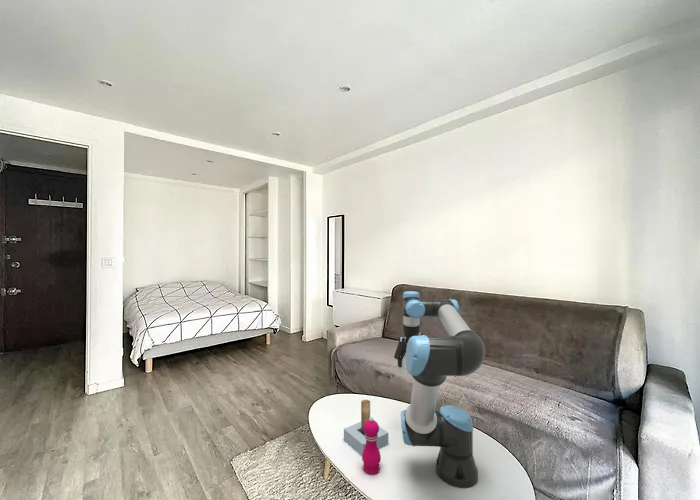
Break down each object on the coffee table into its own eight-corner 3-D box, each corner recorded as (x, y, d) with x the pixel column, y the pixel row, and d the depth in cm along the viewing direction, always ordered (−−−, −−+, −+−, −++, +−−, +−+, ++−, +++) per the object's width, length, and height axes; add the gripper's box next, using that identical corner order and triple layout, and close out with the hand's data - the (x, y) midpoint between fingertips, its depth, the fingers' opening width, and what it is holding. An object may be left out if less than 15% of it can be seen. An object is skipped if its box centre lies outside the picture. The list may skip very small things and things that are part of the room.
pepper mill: (365, 477, 114) (365, 423, 114) (359, 464, 121) (359, 413, 121) (383, 473, 116) (383, 420, 116) (376, 461, 123) (376, 411, 123)
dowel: (372, 440, 134) (372, 402, 135) (365, 443, 132) (365, 405, 132) (366, 435, 138) (366, 398, 138) (359, 438, 135) (359, 401, 136)
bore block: (388, 444, 133) (388, 432, 133) (363, 456, 125) (363, 444, 125) (368, 429, 145) (368, 418, 145) (343, 440, 136) (343, 428, 136)
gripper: (422, 319, 153) (423, 362, 153) (386, 327, 138) (386, 374, 138) (435, 322, 147) (435, 366, 147) (397, 330, 132) (398, 379, 132)
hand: (411, 370), depth 142 cm, fingers open, 13 cm apart
